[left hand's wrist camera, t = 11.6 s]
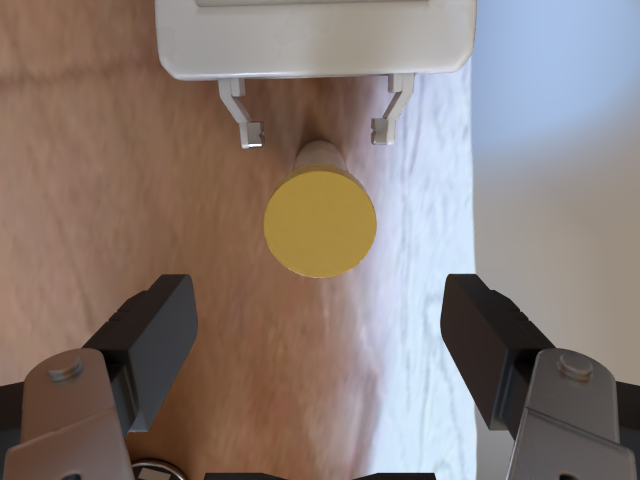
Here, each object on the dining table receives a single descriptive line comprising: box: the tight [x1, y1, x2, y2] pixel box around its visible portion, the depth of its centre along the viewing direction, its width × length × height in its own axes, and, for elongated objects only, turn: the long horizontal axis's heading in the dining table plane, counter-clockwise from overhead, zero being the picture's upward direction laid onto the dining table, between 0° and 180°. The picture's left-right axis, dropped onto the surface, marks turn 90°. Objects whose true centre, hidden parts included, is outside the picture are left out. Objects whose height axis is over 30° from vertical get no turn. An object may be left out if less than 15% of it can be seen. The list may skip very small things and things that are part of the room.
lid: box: [263, 164, 377, 278], centre depth 18 cm, size 5×5×2 cm
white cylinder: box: [291, 140, 349, 172], centre depth 26 cm, size 4×4×17 cm
